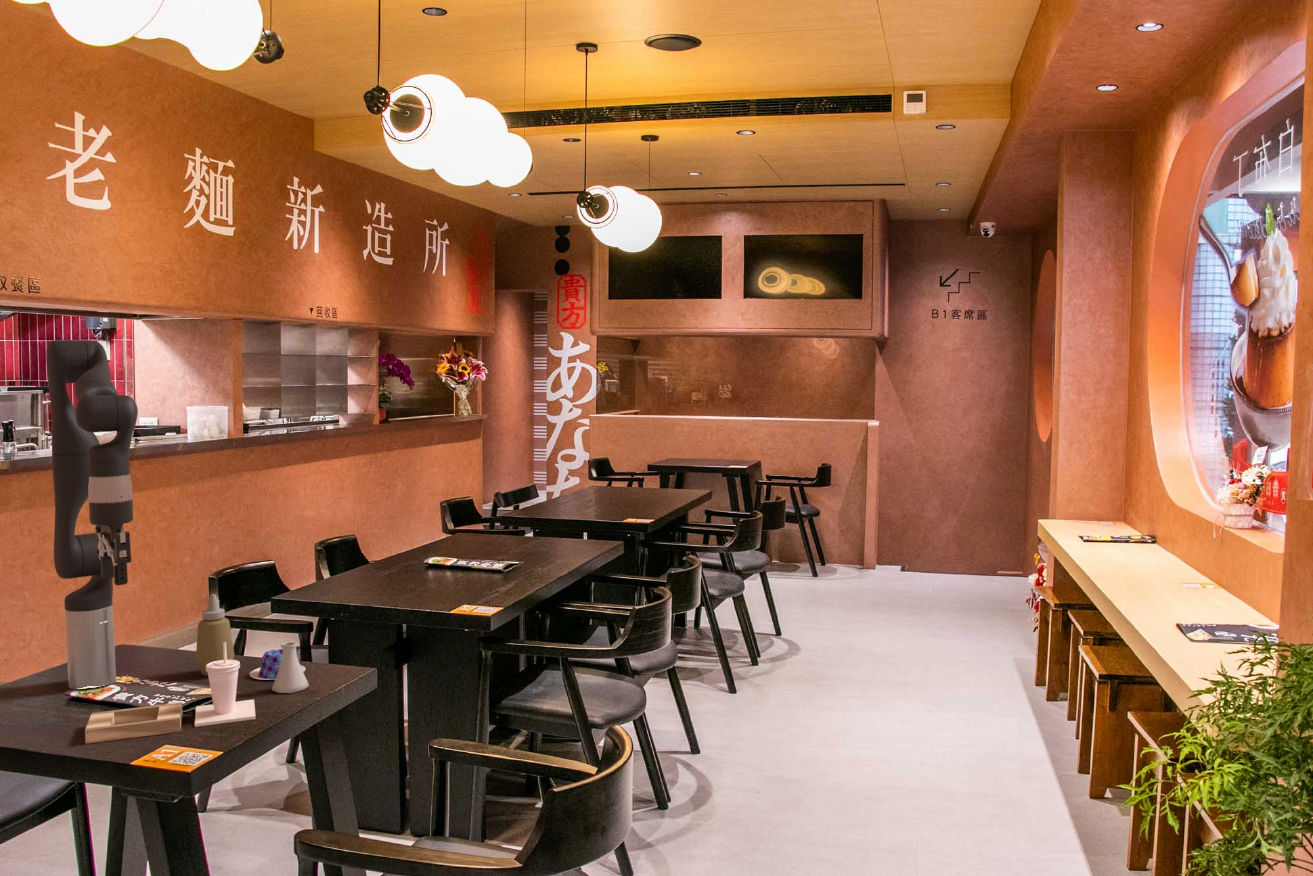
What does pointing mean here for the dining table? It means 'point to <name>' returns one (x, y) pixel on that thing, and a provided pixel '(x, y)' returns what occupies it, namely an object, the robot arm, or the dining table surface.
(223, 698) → the smoothie
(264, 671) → the pudding
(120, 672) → the dining table surface
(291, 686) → the flask
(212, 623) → the squeeze bottle
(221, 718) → the ceramic pad
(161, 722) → the collar
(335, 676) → the dining table surface
